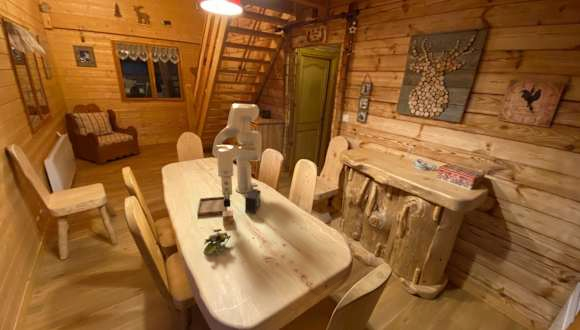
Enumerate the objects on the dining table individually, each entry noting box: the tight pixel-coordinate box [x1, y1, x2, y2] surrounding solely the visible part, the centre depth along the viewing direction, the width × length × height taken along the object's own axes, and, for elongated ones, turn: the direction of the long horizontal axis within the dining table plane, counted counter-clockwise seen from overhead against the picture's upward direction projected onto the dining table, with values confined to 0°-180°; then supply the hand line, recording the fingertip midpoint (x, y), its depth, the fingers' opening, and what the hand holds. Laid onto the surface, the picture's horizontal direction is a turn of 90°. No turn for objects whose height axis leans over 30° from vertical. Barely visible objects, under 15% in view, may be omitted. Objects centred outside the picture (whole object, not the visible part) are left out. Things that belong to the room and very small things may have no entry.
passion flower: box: [203, 228, 232, 255], centre depth 109 cm, size 11×11×12 cm
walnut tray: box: [196, 196, 227, 217], centre depth 144 cm, size 16×18×2 cm
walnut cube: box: [222, 209, 235, 226], centre depth 131 cm, size 6×6×6 cm
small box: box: [244, 189, 262, 215], centre depth 143 cm, size 11×6×10 cm, turn 168°
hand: (227, 202), depth 127 cm, fingers open, 9 cm apart
